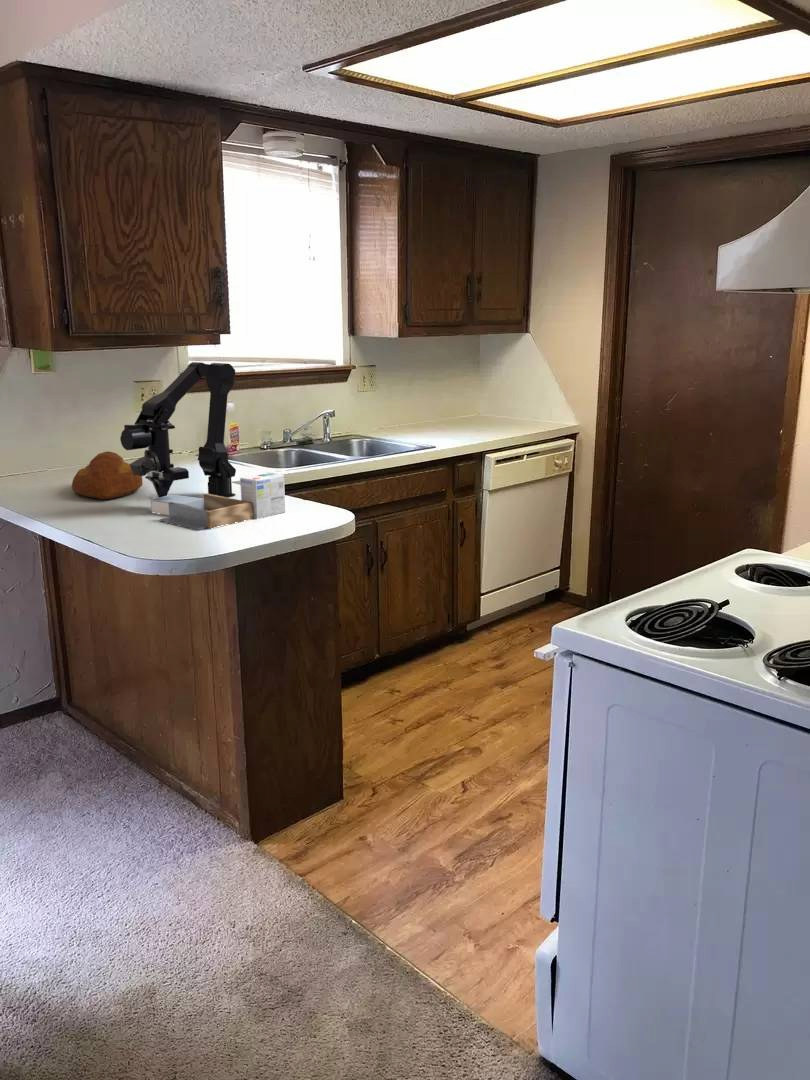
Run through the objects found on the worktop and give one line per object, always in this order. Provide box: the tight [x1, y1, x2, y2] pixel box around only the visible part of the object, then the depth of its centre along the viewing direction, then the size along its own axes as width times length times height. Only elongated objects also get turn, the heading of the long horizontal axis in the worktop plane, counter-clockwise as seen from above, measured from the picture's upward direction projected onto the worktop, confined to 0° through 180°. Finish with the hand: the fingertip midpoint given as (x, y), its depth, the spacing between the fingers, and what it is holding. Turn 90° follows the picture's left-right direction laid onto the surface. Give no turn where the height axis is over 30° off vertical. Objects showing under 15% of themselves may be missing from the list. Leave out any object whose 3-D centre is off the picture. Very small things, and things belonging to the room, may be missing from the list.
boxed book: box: [150, 494, 204, 516], centre depth 238 cm, size 8×12×4 cm
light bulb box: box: [239, 472, 286, 519], centre depth 235 cm, size 11×7×11 cm, turn 141°
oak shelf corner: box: [202, 492, 254, 529], centre depth 231 cm, size 14×19×4 cm
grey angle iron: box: [159, 502, 210, 531], centre depth 224 cm, size 4×16×4 cm, turn 51°
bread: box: [71, 451, 143, 501], centre depth 265 cm, size 21×33×12 cm, turn 12°
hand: (162, 500), depth 243 cm, fingers closed
